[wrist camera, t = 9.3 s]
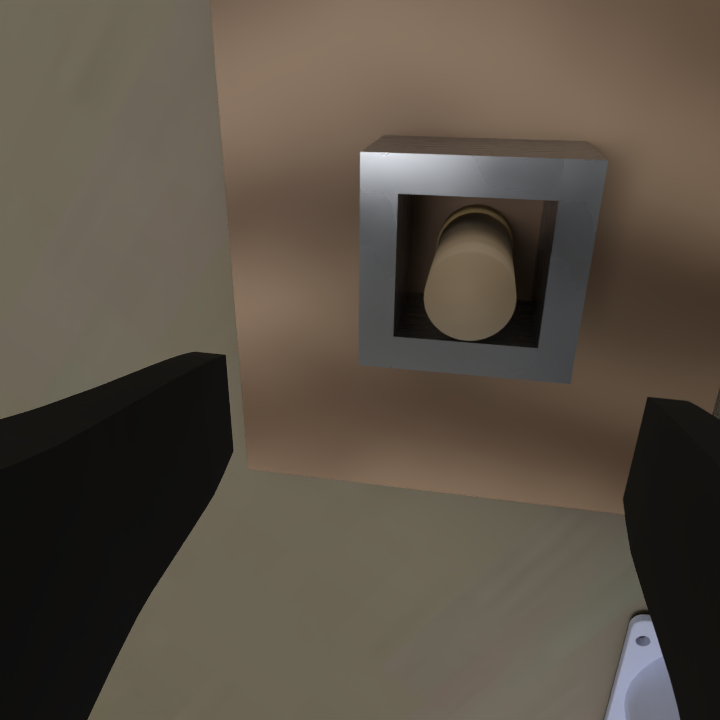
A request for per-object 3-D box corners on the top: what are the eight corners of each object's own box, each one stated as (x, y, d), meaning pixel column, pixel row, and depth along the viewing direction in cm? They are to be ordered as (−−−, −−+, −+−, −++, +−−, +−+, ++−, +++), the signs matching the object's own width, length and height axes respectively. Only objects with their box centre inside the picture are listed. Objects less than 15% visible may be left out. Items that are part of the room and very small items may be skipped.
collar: (558, 330, 19) (570, 383, 16) (379, 317, 20) (358, 365, 17) (586, 141, 17) (608, 160, 14) (383, 135, 18) (360, 151, 15)
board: (674, 502, 22) (732, 645, 17) (257, 453, 24) (190, 565, 19) (852, -151, 14) (1070, -277, 9) (214, -126, 17) (83, -211, 11)
